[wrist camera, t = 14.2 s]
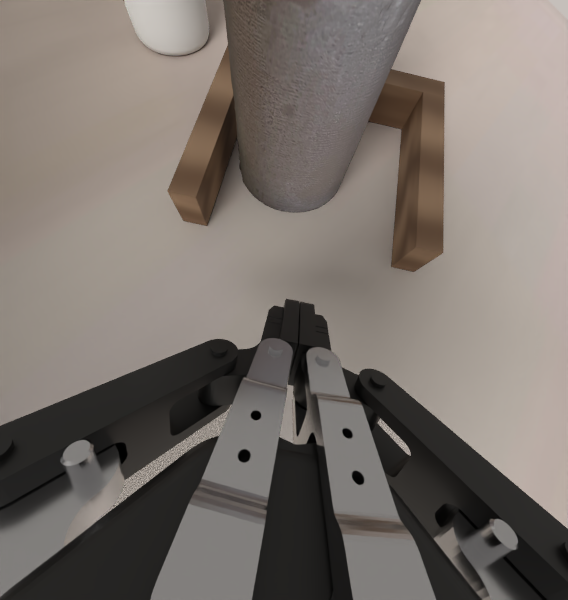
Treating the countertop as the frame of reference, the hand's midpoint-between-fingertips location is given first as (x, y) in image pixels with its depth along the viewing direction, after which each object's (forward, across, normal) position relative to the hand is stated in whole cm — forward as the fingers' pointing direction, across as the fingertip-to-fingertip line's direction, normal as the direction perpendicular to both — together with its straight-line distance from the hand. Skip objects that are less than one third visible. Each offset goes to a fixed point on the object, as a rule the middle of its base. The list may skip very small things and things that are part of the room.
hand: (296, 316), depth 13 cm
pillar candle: (+15, -2, +7) cm, 16 cm away
